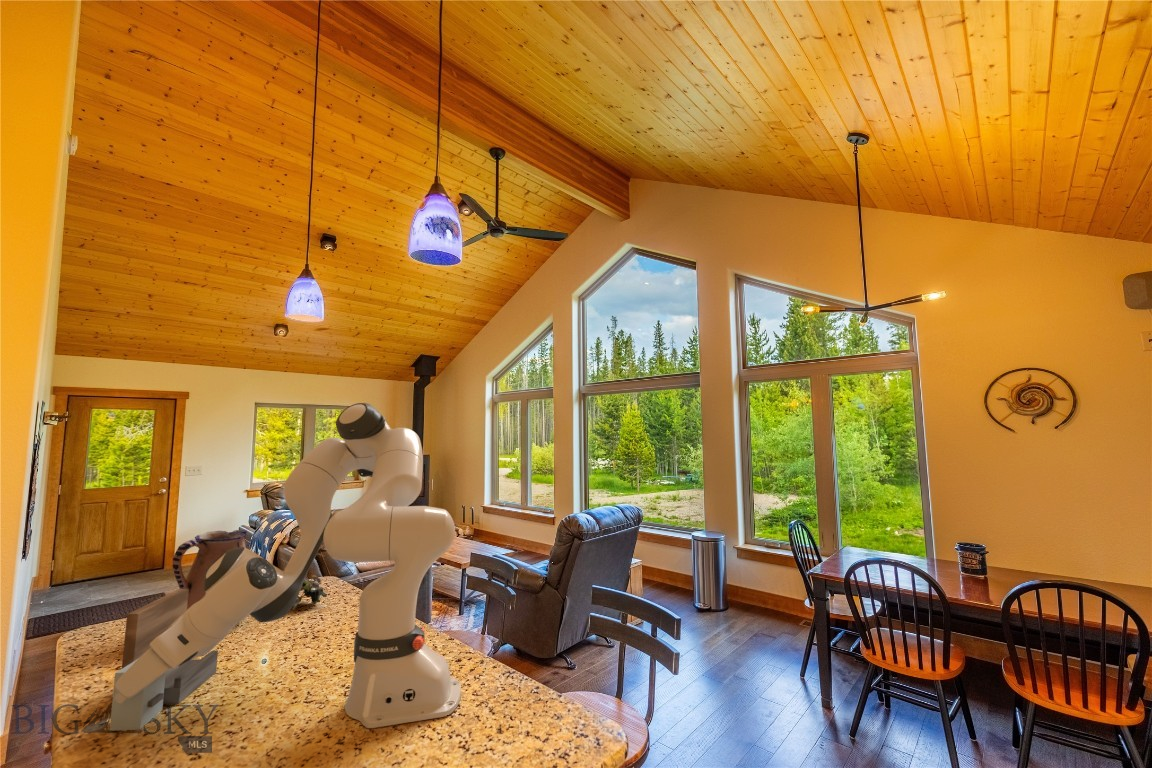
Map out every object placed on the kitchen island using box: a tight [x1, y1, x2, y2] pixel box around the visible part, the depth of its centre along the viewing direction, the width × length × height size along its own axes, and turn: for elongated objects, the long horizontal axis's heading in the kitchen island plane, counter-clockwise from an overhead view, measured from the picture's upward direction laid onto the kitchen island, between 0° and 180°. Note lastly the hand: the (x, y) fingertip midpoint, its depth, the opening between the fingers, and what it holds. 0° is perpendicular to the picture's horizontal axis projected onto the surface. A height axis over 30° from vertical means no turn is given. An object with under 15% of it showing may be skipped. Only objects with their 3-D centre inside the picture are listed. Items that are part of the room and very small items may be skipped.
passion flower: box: [291, 574, 328, 612], centre depth 156 cm, size 11×11×12 cm
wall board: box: [121, 588, 219, 705], centre depth 107 cm, size 10×16×18 cm, turn 8°
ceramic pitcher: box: [172, 529, 248, 609], centre depth 140 cm, size 18×21×25 cm
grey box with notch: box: [109, 659, 166, 732], centre depth 95 cm, size 6×6×10 cm
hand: (136, 687), depth 95 cm, fingers open, 7 cm apart
